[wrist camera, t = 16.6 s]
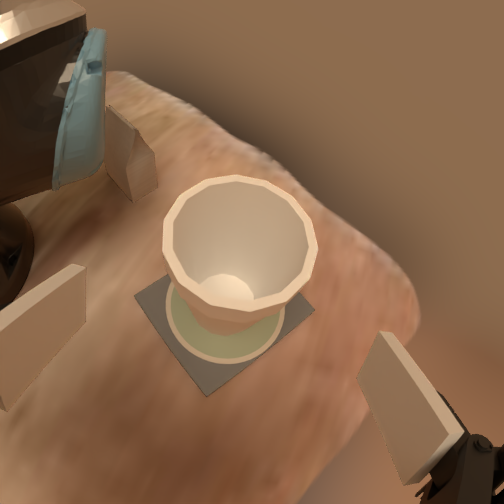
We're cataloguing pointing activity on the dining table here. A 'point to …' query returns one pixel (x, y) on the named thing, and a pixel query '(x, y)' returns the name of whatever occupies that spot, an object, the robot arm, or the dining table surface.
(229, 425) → the dining table surface
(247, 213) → the foam cup
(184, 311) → the square coaster
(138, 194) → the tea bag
